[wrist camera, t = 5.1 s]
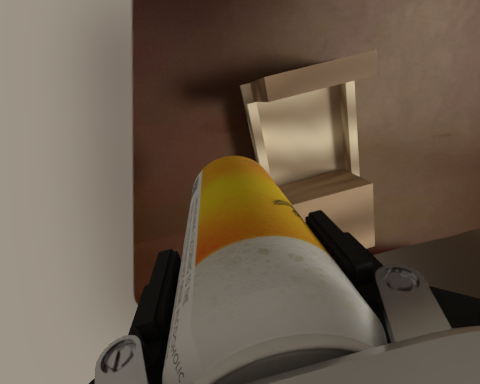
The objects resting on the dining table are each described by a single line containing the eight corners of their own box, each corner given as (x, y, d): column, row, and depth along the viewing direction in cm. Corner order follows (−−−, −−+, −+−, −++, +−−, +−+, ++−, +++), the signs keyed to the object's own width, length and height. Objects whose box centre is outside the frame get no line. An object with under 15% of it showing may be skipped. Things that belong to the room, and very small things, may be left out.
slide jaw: (274, 187, 31) (292, 210, 25) (343, 168, 32) (380, 186, 25) (284, 240, 34) (303, 273, 28) (347, 222, 35) (381, 251, 28)
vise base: (240, 85, 28) (252, 80, 21) (341, 60, 29) (388, 46, 21) (272, 237, 35) (290, 274, 28) (351, 215, 36) (390, 246, 28)
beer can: (261, 229, 21) (365, 488, 7) (188, 221, 20) (145, 509, 6) (278, 159, 19) (468, 334, 5) (198, 147, 18) (163, 324, 4)
